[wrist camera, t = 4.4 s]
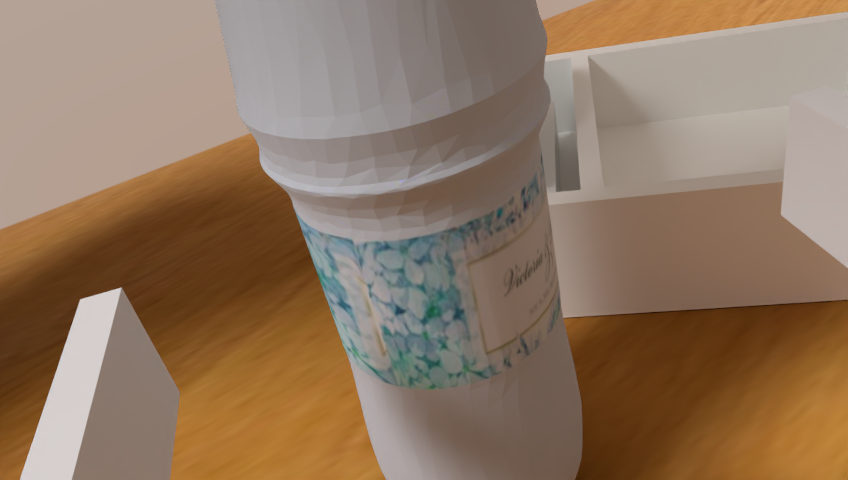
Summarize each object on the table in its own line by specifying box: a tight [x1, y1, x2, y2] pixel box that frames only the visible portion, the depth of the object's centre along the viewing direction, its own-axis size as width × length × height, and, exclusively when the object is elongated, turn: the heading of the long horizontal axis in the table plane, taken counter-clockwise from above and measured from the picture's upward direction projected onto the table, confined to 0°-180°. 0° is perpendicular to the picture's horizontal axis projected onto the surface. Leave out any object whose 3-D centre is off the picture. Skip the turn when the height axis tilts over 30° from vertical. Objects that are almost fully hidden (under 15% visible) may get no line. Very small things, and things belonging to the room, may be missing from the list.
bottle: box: [215, 0, 583, 480], centre depth 18 cm, size 7×7×20 cm
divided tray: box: [539, 12, 848, 318], centre depth 30 cm, size 19×14×9 cm
